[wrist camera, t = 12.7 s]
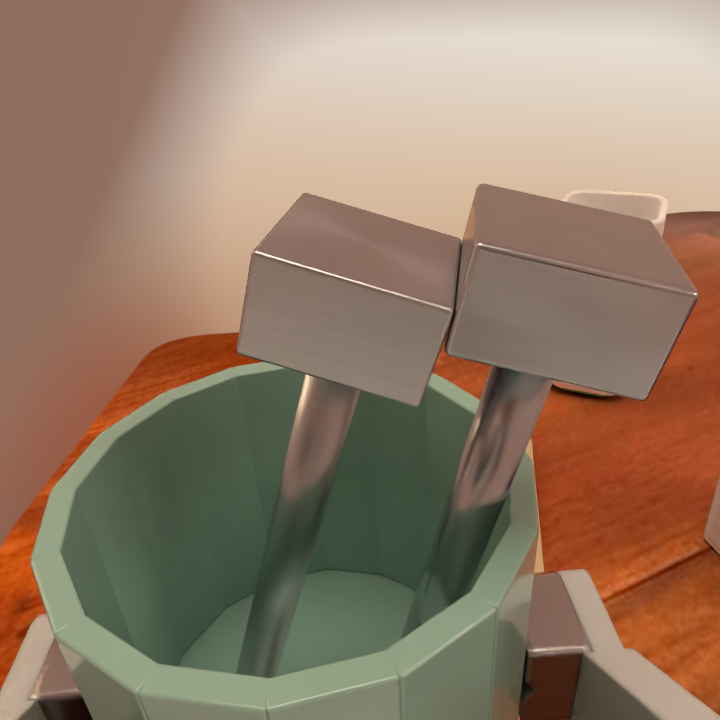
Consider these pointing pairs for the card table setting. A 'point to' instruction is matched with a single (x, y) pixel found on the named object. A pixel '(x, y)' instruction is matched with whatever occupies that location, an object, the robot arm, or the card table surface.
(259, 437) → the tumbler
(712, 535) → the white packaging box
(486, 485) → the metal mallet
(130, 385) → the card table surface
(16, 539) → the card table surface
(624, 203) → the cup
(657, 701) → the robot arm
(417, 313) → the square head hammer
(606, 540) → the card table surface
